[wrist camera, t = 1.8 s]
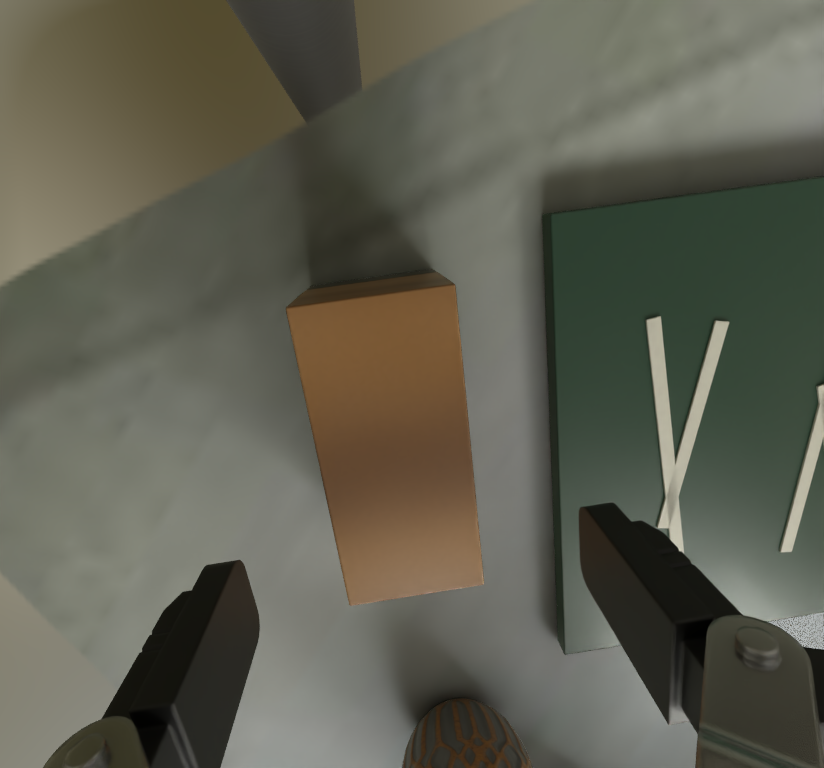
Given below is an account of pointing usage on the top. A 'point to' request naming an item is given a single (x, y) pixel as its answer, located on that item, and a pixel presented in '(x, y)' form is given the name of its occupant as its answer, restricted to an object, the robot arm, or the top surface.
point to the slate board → (692, 389)
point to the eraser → (391, 431)
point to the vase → (465, 739)
